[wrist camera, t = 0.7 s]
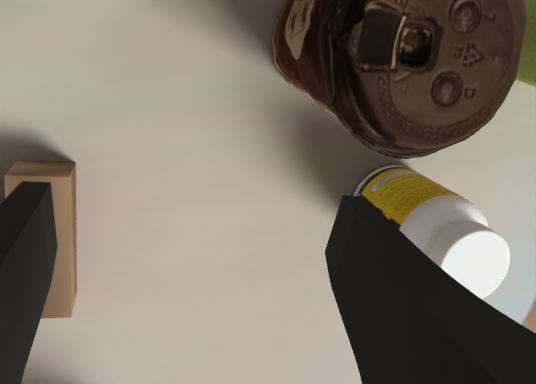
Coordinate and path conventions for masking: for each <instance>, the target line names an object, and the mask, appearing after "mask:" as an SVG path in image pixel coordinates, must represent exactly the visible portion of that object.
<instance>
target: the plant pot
mask: <svg viewBox="0 0 536 384" xmlns="http://www.w3.org/2000/svg"><path fill="white" fill-rule="evenodd" d="M524 3H525V5H526V9H525V11H526V15H527V16H526V19H527V20H526V25H525V31H524V37H523V43H522V48H521V53H520V59H519V66H518V72H517V77H516V79H515V80H518V81H521V82H524V83H526V84H529V85H532V86H535V87H536V0H524Z"/></svg>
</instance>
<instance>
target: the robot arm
mask: <svg viewBox="0 0 536 384" xmlns="http://www.w3.org/2000/svg"><path fill="white" fill-rule="evenodd" d="M57 247H58V245H57V236H56V227H55V217H54V208H53V199H52V189H51V182H32V181H22V182H21V183H20V184H18V185H17V186H16V188H15V189H14V190H13V191H12V192H11V193H10V194H9V195H8V196H7V197H6V198H5V199H4V200H3V201H2V203H1V204H0V384H21V381H22V377H23V373H24V369H25V366H26V363H27V360H28V356H29V353H30V350H31V347H32V344H33V341H34V337H35V334H36V331H37V328H38V325H39V322H40V318H41V315H42V312H43V309H44V306H45V302H46V299H47V296H48V293H49V289H50V286H51V282H52V276H53V271H54V265H55V259H56V253H57ZM325 255H326V261H327V267H328V272H329V277H330V282H331V287H332V290H333V293H334V296H335V299H336V302H337V305H338V308H339V311H340V314H341V317H342V320H343V323H344V326H345V329H346V332H347V335H348V338H349V341H350V344H351V347H352V350H353V353H354V356H355V359H356V362H357V365H358V369H359V372H360V376H361V381H362V384H536V333H534V332H532V331H530V330H529V329H527V328H525V327H524V326H522V325H520V324H519V323H517V322H515V321H514V320H512V319H511V318H509V317H508V316H506V315H504V314H503V313H501V312H500V311H498V310H496V309H495V308H493V307H492V306H491V305H489V304H488V303H486V302H485V301H483V300H482V299H480V298H479V297H478V296H476V295H475V294H474V293H472V292H471V291H470V290H468V289H467V288H465V287H464V286H463V285H461V284H460V283H459V282H458V281H456V280H455V279H454V278H452V277H451V276H450V275H449V274H448V273H446V272H445V271H444V270H443V269H442V268H441V267H439V266H438V265H437V264H436V263H435V262H433V261H432V260H431V259H430V258H429V257H428V256H427V255H426V254H424V253H423V252H422V251H421V250H420V249H419V248H418V247H417V246H416V245H415V244H414V243H413V242H412V241H410V240H409V239H408V238H407V237H406V236H405V235H404V234H403V233H402V232H401V231H400V230H399V229H398V228H397V227H396V226H395V225H394V224H393V223H392V222H391V221H390V220H389V219H388V218H387V217H386V216H385V215H384V214H383V213H382V212H381V211H380V210H379V209H378V208H377V207H376V206H375V205H374V204H373V203H371V202H370V201H369V200H368V199H367V198H366V197H365V196H344V195H343V197H342V200H341V203H340V206H339V209H338V212H337V216H336V219H335V222H334V225H333V228H332V231H331V234H330V238H329V241H328V244H327V247H326V250H325Z"/></svg>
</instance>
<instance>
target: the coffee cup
mask: <svg viewBox="0 0 536 384" xmlns="http://www.w3.org/2000/svg"><path fill="white" fill-rule="evenodd" d="M525 9H526V5H525V3H524V0H288V1H287V3H286V4H285V5H284V7H283V9H282V11H281V13H280V15H279V17H278V19H277V23H276V27H275V31H274V34H273V39H272V43H273V48H274V62H275V66H276V67H277V68H278V70H279V71H280V72H281V73H282V74H283V75H284V76H285V78H286V81H287V82H288V83H289V84H292V85H294V86H295V87H296V88H297V89H298V90H299V91H303V92H306V93H309V94H310V95H311V97H312V98H313V99H314V100H315V101H316V103H317V104H318V105H320V106H321V107H322V109H324V110H326V111H327V112H329V113H331V114H332V115H333V116H335V117H336V118H337V119H338V120H339V121H340V122H341V123H342V124H343V125H344V126H345V127H346V128H347V129H348V130H349V131H350V133H351V134H352V135H353V136H354V137H355V138H357V139H358V140H360V141H361V142H362V143H363V144H364V145H366V146H368V147H369V148H370V149H373V150H374V151H377V152H379V153H381V154H384V155H386V156H391V157H394V158H398V159H409V158H415V157H423V156H427V155H429V154H432V153H435V152H437V151H439V150H441V149H444V148H446V147H449V146H451V145H454V144H456V143H459V142H461V141H464V140H466V139H467V138H469V137H470V136H472V135H473V134H475V133H476V132H477V131H478V130H480V129H481V128H482V127H483V126H484V125H485V124H487V123H488V122H489V121H490V120H491V119H492V118H493V116H494V115H495V113H496V112H497V110H498V109H499V107H500V106H501V105H502V103H503V102H504V100H505V98H506V96H507V94H508V92H509V90H510V88H511V86H512V85H513V83H514V81H515V79H516V77H517V72H518V66H519V59H520V53H521V48H522V43H523V37H524V31H525V25H526V20H527V19H526V16H527V15H526V11H525Z"/></svg>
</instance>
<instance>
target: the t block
mask: <svg viewBox="0 0 536 384" xmlns="http://www.w3.org/2000/svg"><path fill="white" fill-rule="evenodd" d="M22 181H32V182H51V189H52V199H53V208H54V217H55V227H56V236H57V245H58V247H57V253H56V259H55V265H54V271H53V276H52V282H51V286H50V289H49V293H48V296H47V299H46V302H45V306H44V309H43V312H42V315H41V318H66V317H71V315H72V310H73V305H74V301H75V296H76V292H77V284H76V163H73V162H45V161H18V160H17V161H16V162H15V163H14V164H13V166H12V167H11V168H10V169H9V170H8V171H7V173H6V174H5V175H4V184H5V198H6V197H7V196H8V195H9V194H10V193H11V192H12V191H13V190H14V189H15V188H16V186H17V185H18V184H20V183H21V182H22Z"/></svg>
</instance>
